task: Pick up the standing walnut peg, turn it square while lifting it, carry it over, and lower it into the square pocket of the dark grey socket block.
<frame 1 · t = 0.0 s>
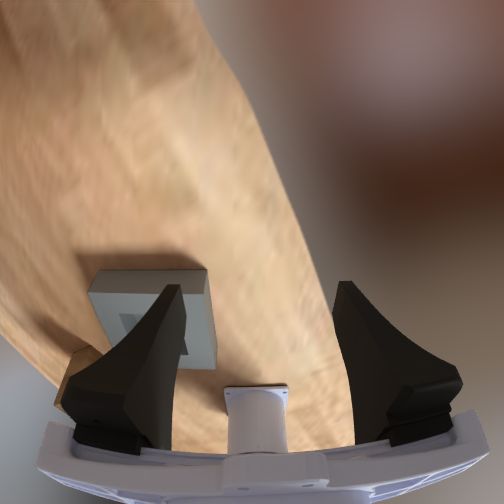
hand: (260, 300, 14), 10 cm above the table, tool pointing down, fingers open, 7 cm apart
walnut peg: (94, 359, 34), on the table
socket block: (160, 312, 29), on the table
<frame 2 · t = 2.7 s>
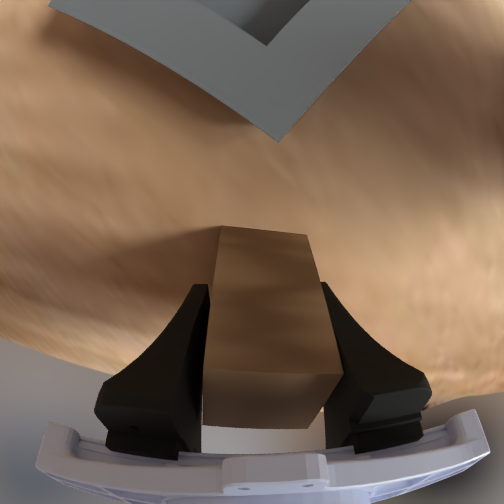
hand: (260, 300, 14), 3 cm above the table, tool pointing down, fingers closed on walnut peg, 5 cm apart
walnut peg: (258, 265, 16), on the table, touching gripper
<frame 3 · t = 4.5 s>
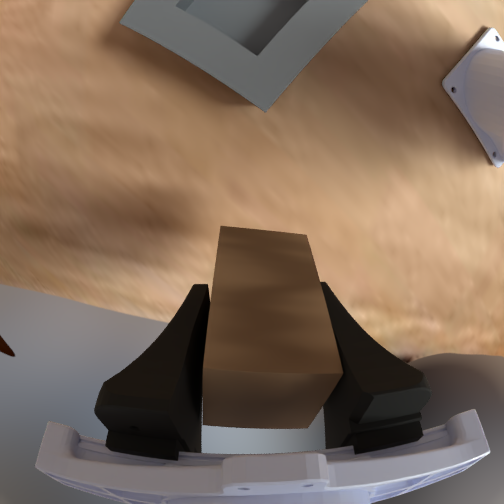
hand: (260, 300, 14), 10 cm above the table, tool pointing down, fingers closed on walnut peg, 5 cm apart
walnut peg: (258, 265, 16), point 7 cm above the table, touching gripper
socket block: (247, 2, 14), on the table
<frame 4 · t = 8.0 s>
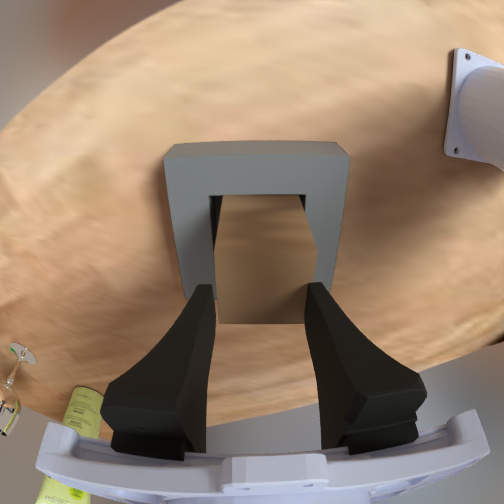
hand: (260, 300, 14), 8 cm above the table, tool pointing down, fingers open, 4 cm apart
walnut peg: (258, 209, 20), resting on socket block, touching gripper
socket block: (256, 212, 21), on the table
wineglass: (23, 352, 32), on the table
tube: (91, 394, 37), on the table
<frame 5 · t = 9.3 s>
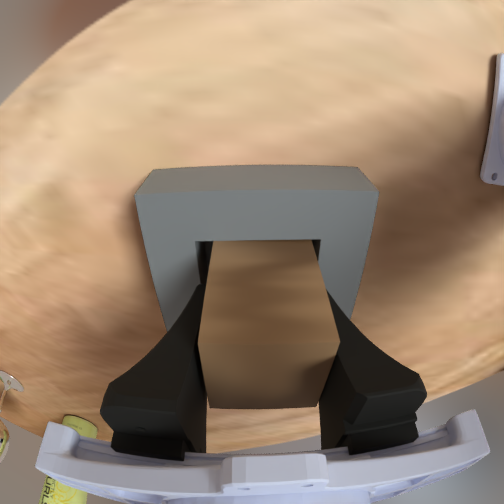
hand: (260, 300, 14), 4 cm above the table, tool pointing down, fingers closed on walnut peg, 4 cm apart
walnut peg: (259, 249, 17), resting on socket block, touching gripper
socket block: (256, 252, 17), on the table
wineglass: (10, 379, 28), on the table
tube: (82, 422, 33), on the table
when the fingers open (4 cm above the table, at t = 9.3 s): walnut peg stays where it is, resting on socket block.
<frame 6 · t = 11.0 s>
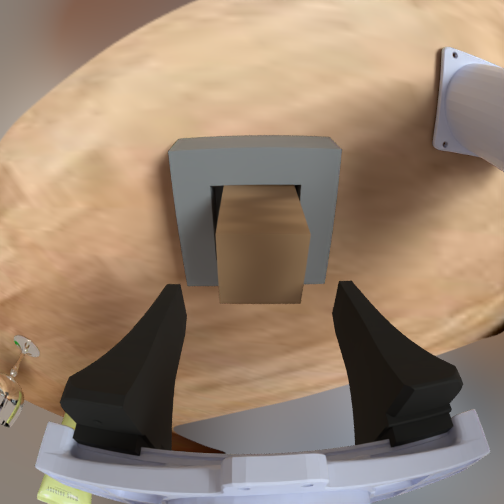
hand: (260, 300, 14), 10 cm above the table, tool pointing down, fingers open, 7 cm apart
walnut peg: (257, 200, 22), resting on socket block
socket block: (254, 203, 22), on the table
wineglass: (27, 345, 33), on the table
tube: (94, 386, 38), on the table
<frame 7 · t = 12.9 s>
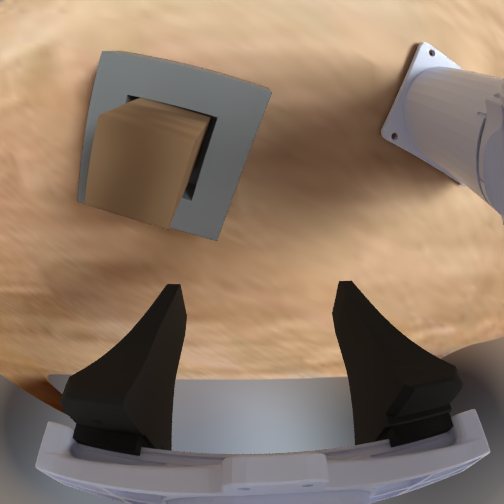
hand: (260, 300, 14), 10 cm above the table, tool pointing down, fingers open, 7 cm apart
walnut peg: (173, 131, 19), resting on socket block
socket block: (171, 136, 19), on the table
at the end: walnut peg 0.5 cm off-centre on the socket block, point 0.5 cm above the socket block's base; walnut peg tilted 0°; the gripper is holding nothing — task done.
